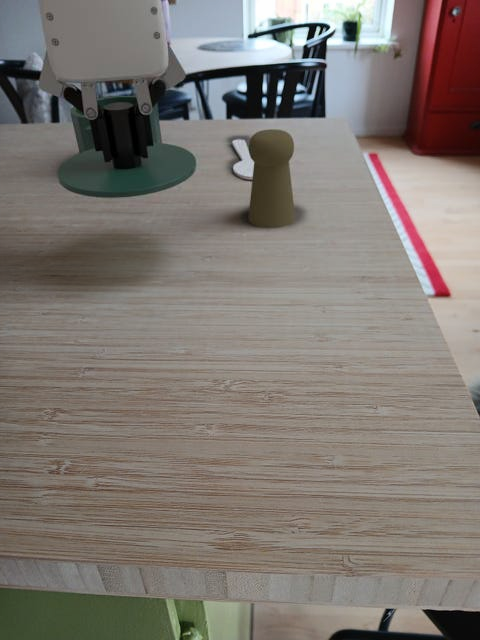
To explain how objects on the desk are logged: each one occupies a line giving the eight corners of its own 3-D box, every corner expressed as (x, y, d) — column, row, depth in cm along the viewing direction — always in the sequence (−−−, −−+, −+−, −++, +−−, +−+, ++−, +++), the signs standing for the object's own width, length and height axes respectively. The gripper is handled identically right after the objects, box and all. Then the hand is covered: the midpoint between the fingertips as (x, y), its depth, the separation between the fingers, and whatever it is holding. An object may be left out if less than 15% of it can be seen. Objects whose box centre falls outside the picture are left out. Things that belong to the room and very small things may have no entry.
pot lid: (35, 202, 47) (14, 127, 43) (89, 151, 58) (76, 88, 54) (180, 206, 45) (172, 129, 41) (208, 153, 56) (203, 88, 52)
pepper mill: (260, 236, 61) (258, 143, 55) (240, 217, 66) (236, 129, 59) (304, 225, 63) (308, 134, 56) (282, 207, 68) (282, 121, 61)
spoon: (253, 140, 90) (253, 137, 90) (273, 177, 76) (273, 174, 75) (222, 143, 89) (222, 140, 89) (237, 181, 75) (236, 177, 75)
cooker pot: (65, 190, 76) (48, 124, 70) (106, 149, 90) (95, 92, 84) (147, 191, 74) (136, 123, 68) (176, 149, 88) (169, 90, 83)
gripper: (186, -84, 44) (201, 136, 55) (-16, -78, 41) (43, 151, 52) (199, -87, 38) (214, 160, 49) (-35, -80, 35) (36, 178, 46)
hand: (125, 153), depth 50 cm, fingers closed on pot lid, 2 cm apart
